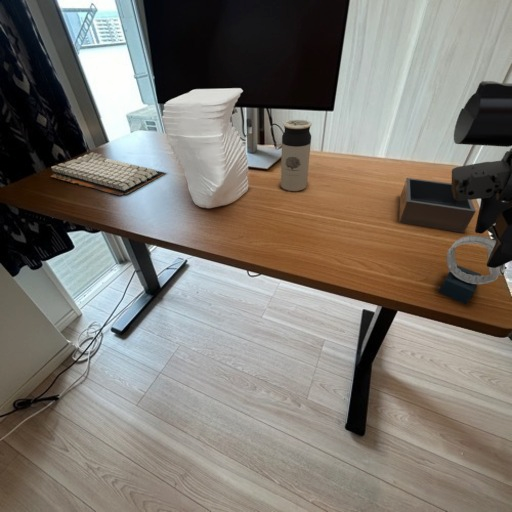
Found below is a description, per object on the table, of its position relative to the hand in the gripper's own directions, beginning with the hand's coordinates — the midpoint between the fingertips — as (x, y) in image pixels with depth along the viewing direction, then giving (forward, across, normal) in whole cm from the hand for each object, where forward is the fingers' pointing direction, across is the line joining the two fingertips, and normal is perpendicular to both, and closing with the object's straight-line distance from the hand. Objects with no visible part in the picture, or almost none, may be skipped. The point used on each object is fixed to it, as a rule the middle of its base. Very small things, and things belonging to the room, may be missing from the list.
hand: (483, 248), depth 43 cm
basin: (+10, -27, -3) cm, 29 cm away
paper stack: (+10, -17, -61) cm, 64 cm away
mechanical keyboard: (+10, -18, -104) cm, 106 cm away
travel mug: (+10, -31, -40) cm, 52 cm away
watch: (+10, 0, 0) cm, 10 cm away
